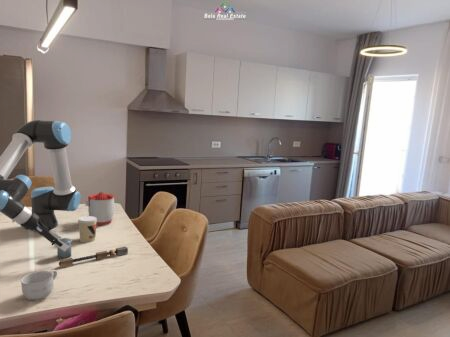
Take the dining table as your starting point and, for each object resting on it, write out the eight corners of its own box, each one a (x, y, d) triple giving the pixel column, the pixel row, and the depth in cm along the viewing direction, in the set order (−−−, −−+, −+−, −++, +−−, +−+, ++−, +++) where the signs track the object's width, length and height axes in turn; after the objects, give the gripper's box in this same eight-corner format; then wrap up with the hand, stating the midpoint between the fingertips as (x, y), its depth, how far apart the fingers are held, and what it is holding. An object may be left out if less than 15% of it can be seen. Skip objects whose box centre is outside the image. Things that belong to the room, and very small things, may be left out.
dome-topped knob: (55, 255, 167) (55, 239, 166) (69, 252, 171) (69, 237, 170) (58, 260, 162) (58, 244, 161) (73, 257, 166) (73, 241, 165)
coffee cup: (90, 243, 184) (90, 222, 182) (74, 241, 185) (74, 219, 183) (100, 237, 193) (100, 217, 191) (85, 235, 194) (84, 215, 192)
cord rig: (58, 266, 156) (58, 259, 156) (125, 251, 176) (125, 246, 176) (60, 268, 154) (59, 262, 154) (127, 253, 174) (127, 248, 173)
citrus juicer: (83, 220, 219) (83, 189, 216) (112, 217, 227) (112, 188, 224) (86, 228, 206) (86, 195, 203) (116, 225, 214) (116, 193, 210)
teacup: (31, 307, 124) (31, 286, 123) (15, 297, 130) (14, 277, 129) (67, 291, 136) (66, 272, 135) (50, 283, 142) (50, 264, 140)
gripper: (14, 216, 161) (50, 241, 173) (24, 233, 142) (63, 260, 154) (27, 204, 164) (61, 229, 175) (38, 219, 145) (76, 246, 156)
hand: (62, 244), depth 165 cm, fingers open, 13 cm apart
